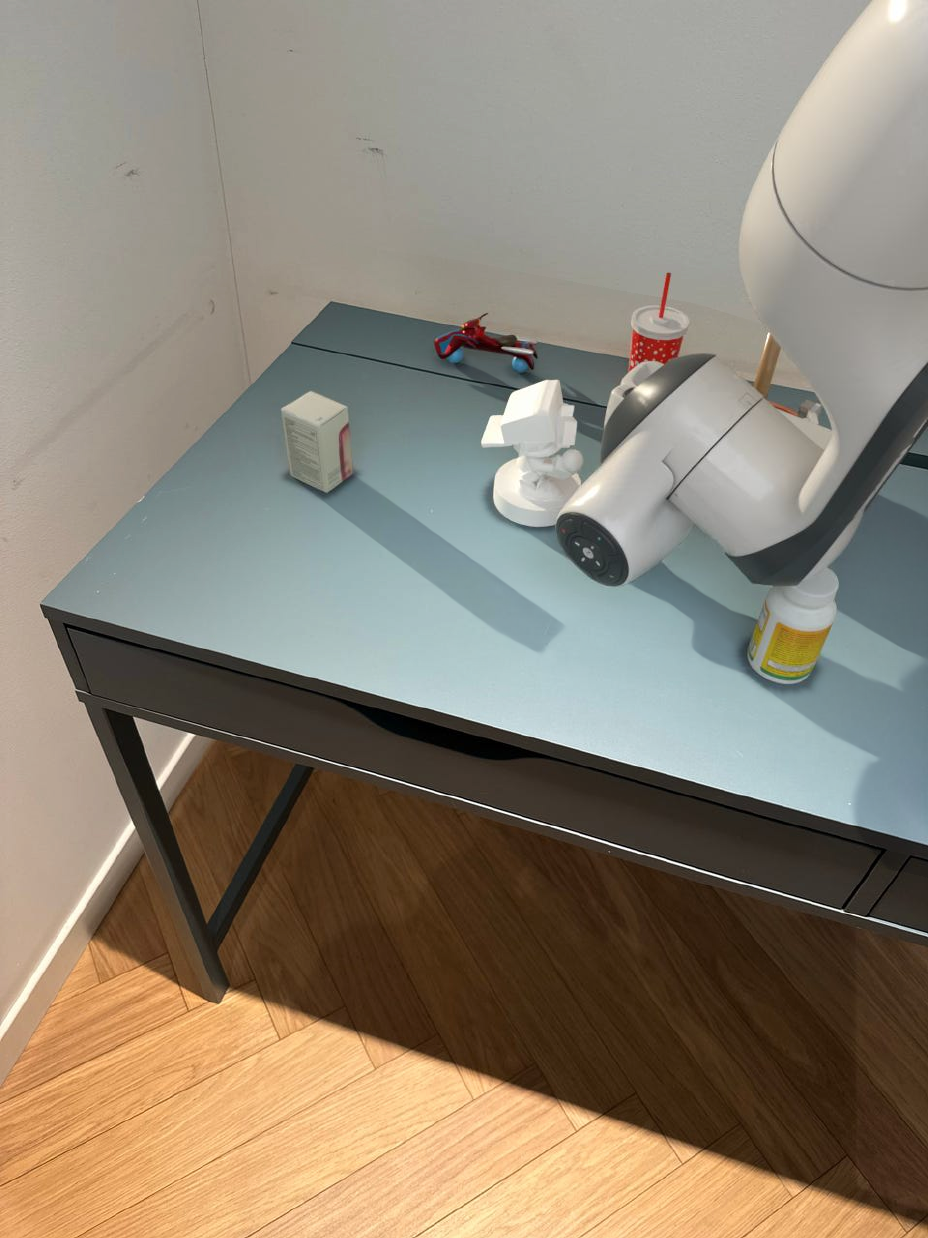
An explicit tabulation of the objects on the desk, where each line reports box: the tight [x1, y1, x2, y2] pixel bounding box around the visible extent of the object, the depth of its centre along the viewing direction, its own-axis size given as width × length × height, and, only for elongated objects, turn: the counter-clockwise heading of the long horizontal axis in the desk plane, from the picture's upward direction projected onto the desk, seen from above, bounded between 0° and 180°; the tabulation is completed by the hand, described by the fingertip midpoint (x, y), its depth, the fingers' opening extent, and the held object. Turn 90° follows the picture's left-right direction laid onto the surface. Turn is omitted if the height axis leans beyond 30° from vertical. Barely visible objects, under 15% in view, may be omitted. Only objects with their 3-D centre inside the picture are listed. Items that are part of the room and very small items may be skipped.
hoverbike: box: [433, 312, 539, 374], centre depth 110 cm, size 5×12×6 cm, turn 77°
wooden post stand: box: [753, 331, 782, 400], centre depth 89 cm, size 5×5×18 cm
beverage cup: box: [627, 272, 690, 374], centre depth 103 cm, size 6×6×14 cm
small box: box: [280, 390, 354, 494], centre depth 93 cm, size 5×4×8 cm
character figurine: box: [480, 379, 584, 528], centre depth 90 cm, size 9×10×12 cm
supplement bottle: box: [746, 566, 840, 685], centre depth 76 cm, size 5×5×10 cm
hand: (765, 390), depth 89 cm, fingers open, 8 cm apart
